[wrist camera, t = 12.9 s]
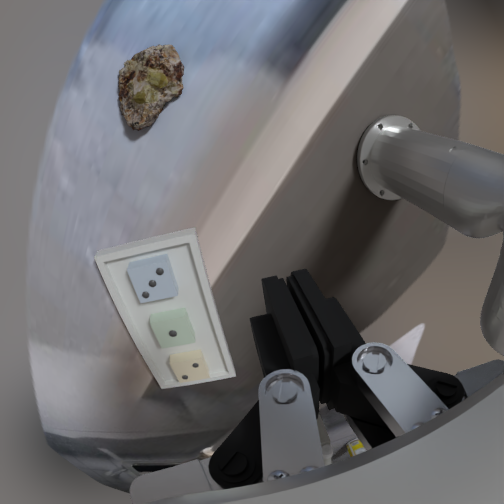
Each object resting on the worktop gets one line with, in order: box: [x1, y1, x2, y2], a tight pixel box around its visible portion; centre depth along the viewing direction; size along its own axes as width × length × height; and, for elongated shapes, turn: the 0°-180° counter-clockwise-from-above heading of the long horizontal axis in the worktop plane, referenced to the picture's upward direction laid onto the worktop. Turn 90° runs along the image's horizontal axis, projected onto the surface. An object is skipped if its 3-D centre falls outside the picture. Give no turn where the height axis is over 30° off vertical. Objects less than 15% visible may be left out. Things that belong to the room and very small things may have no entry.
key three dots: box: [127, 254, 178, 303], centre depth 38 cm, size 5×5×2 cm
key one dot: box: [150, 308, 195, 349], centre depth 42 cm, size 5×5×2 cm
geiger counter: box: [317, 414, 333, 466], centre depth 60 cm, size 14×6×25 cm
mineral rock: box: [119, 45, 184, 131], centre depth 28 cm, size 11×4×8 cm
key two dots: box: [169, 349, 210, 383], centre depth 46 cm, size 5×5×2 cm
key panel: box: [94, 227, 236, 389], centre depth 43 cm, size 14×28×2 cm, turn 9°
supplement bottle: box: [346, 438, 366, 457], centre depth 77 cm, size 6×6×10 cm
